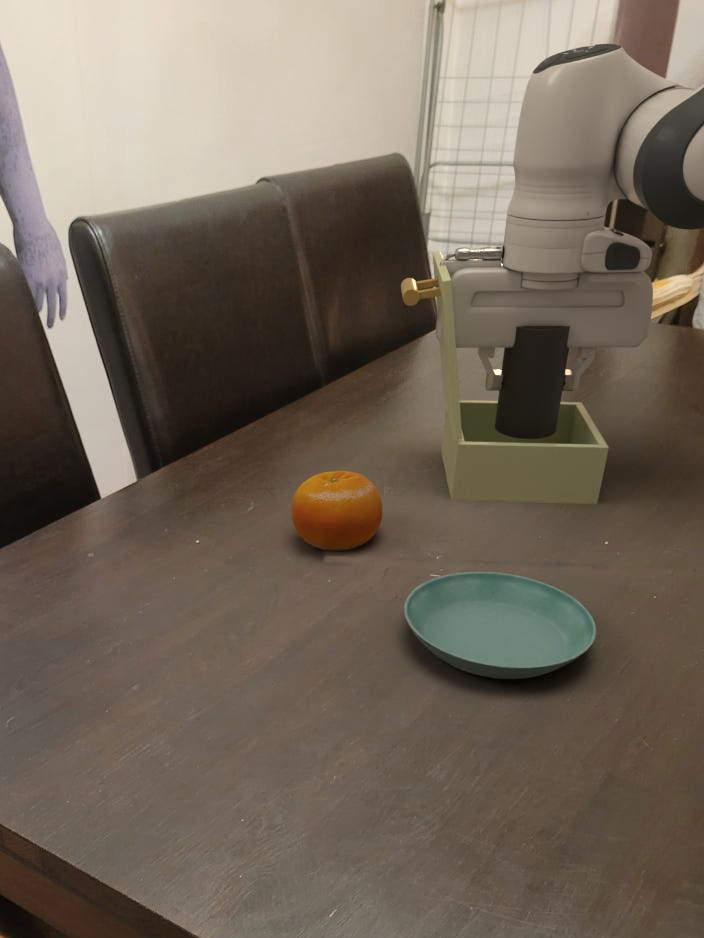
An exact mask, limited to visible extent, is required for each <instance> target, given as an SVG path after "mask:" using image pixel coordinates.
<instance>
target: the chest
mask: <svg viewBox="0 0 704 938" xmlns="http://www.w3.org/2000/svg"><path fill="white" fill-rule="evenodd" d="M497 405H498V400H476V399H475V400H473V399H471V400H469V399H460V414H461V429H462V439H457V440H454V437H453V433H452V429H451V425H450V421H449V417H448V412H447V408H446V407H445V412H444V421H443V423H444V424H443V432H442V441H441V449H440V450H441V451H440V453H441V457H442V462H443V467H444V472H445V475H446V477H445V478H446V482H447V487H448V492H449V496H450V500H451V501H476V502H477V501H478V502H479V501H481V502H510V503H512V502H513V503H544V504H545V503H546V504H547V503H548V504H577V505H579V504H581V505H598V502H599V497H600V492H601V489H602V488H601V487H602V483H603V478H604V472H605V469H606V463H607V459H608V454H609V450H610V447H609V445H608V444H607V442H606V440H605V439H604V437H603V435H602V434H601V432H600V430H599V429H598V427H597V426H596V424H595V422H594V420H593V419H592V417H591V416H590V414H589V412H588V411H587V409H586V407H585V406H584V404H583V403H582V402H581V401H580V402H579V401H577V402H576V401H561V403H560V409H559V415H558V421H557V428H556V432H555V433H554V434H553V435H551V436H549V437H545V438H539V439H521V438H514V437H510V436H506V435H503V434H501V433H499V432H498V431H497V430H496V429H495V421H496V413H497Z"/></svg>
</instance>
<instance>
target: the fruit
mask: <svg viewBox="0 0 704 938" xmlns="http://www.w3.org/2000/svg"><path fill="white" fill-rule="evenodd" d="M290 509H291V519H292V520H291V521H292V523H293V526H294V529H295V530H296V532H297V534H298V535H299V536H300V538H302V540H303V541H304V542H306V543H307V544H309V545H311V546H312V547H314V548H316V549H320V550H323V551H325V550H326V551H348V550H349V551H350V550H353V549H355V548H358V547H361V546H363V545H364V544H366V543H367V542H369V541H370V540H371V539H372V538H373V537H374V536H375V535H376V533H377V532H378V530H379V528H380V526H381V522H382V518H383V502H382V498H381V495H380V493H379V490H378V489H377V487H376V486H375V484H374V483H373V482H372V481H371V480H370V479H369V478H368V477H366V476H365V475H363V474H361V473H359V472H354V471H347V470H336V471H326V472H320V473H318V474H315V475H313V476H311V477H309V478H307V480H305V481H303V482H302V483H301V485H300V486H299V487H298V488H297V489H296V491H295V493H294V494H293V498H292V502H291V507H290Z"/></svg>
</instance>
